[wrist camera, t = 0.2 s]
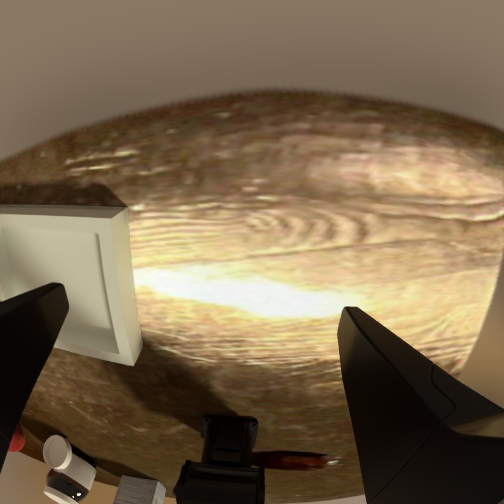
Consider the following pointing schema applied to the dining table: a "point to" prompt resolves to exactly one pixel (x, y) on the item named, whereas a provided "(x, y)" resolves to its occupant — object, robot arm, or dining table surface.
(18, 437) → the onion
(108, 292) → the tray
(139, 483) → the medicine box
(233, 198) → the dining table surface
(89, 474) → the spread jar
